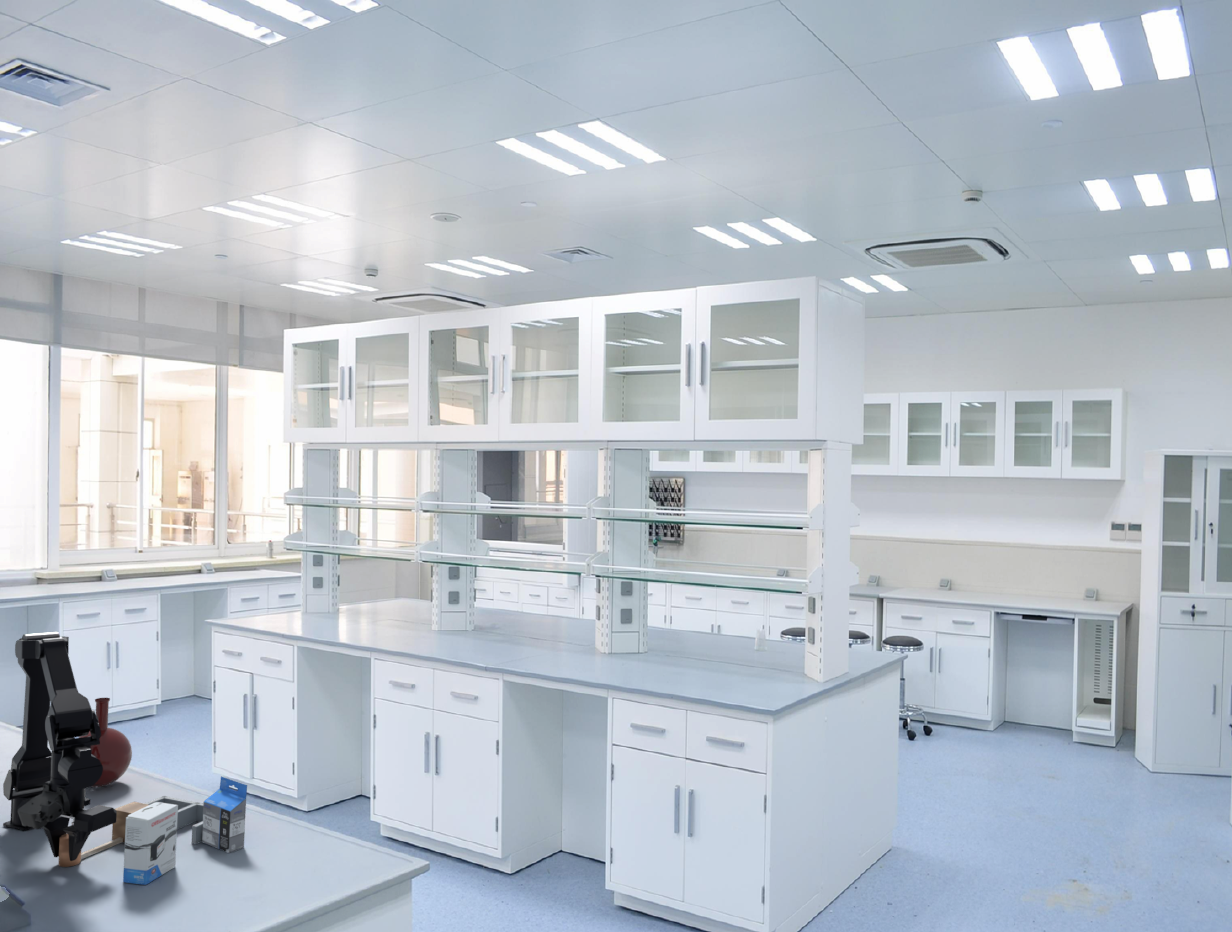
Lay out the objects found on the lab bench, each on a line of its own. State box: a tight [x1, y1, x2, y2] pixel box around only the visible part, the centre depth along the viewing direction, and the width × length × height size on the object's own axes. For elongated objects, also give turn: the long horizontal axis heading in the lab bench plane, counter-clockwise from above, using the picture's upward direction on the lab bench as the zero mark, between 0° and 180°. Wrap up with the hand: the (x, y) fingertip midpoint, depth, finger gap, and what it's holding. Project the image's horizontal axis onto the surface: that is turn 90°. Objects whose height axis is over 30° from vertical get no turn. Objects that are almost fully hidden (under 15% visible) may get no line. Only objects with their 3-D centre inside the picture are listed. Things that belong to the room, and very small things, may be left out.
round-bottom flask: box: [78, 697, 133, 788], centre depth 217 cm, size 13×13×20 cm
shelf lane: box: [143, 795, 204, 845], centre depth 194 cm, size 19×10×4 cm, turn 70°
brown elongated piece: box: [58, 801, 148, 868], centre depth 182 cm, size 5×18×6 cm, turn 159°
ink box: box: [122, 802, 178, 886], centre depth 171 cm, size 8×5×12 cm, turn 168°
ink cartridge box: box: [201, 776, 248, 854], centre depth 186 cm, size 9×4×12 cm, turn 57°
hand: (65, 858), depth 174 cm, fingers closed on brown elongated piece, 4 cm apart
